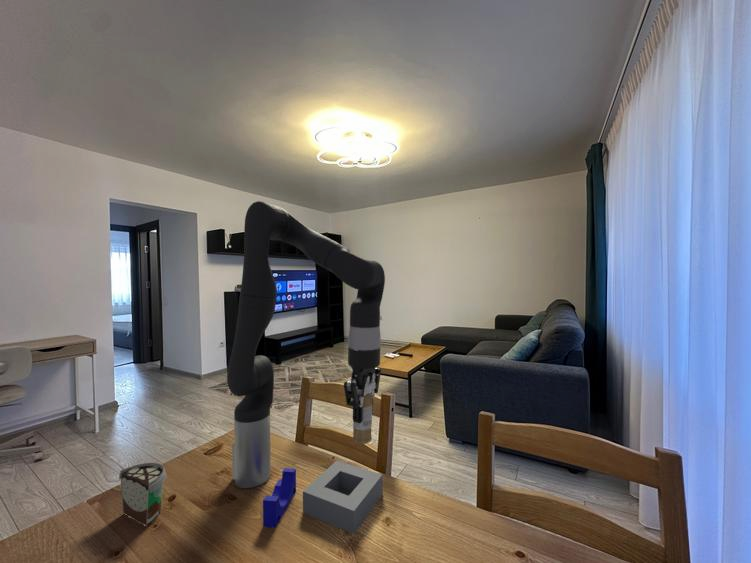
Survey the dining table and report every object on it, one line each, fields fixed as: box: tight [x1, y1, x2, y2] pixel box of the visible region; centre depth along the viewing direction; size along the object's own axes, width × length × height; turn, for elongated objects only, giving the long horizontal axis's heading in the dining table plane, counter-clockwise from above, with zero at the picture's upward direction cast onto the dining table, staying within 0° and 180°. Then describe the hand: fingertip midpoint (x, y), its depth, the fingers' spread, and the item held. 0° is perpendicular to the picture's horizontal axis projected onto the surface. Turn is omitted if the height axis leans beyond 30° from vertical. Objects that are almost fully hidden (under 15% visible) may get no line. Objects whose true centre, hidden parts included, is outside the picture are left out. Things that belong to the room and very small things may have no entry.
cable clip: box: [262, 467, 297, 528], centre depth 75 cm, size 12×4×6 cm, turn 173°
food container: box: [118, 462, 167, 527], centre depth 74 cm, size 12×6×10 cm, turn 65°
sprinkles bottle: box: [352, 383, 373, 445], centre depth 73 cm, size 5×5×14 cm
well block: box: [302, 460, 384, 535], centre depth 76 cm, size 14×14×5 cm
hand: (362, 417), depth 73 cm, fingers closed on sprinkles bottle, 4 cm apart
